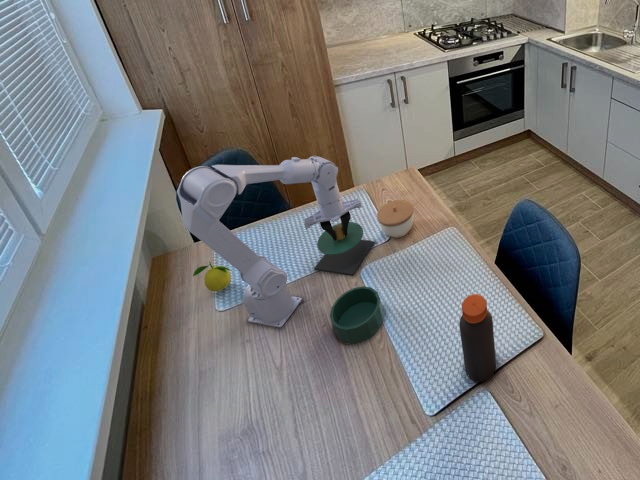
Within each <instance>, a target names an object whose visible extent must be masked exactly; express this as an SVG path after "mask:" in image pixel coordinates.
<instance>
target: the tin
mask: <svg viewBox="0 0 640 480" xmlns="http://www.w3.org/2000/svg"><path fill="white" fill-rule="evenodd" d="M329 318H330V323H331V325H332V327H333V331H334V334H335V336H336V338H337V340H338V341H340V342H341V343H343V344H347V345H355V344H356V345H357V344H360V343H363V342H365V341H367V340H368V339H370V338H371V337H373V336H374V335H375V334H376V333H377V332H378V331H379V329H380V328H381V326H382V324H383V321H384V307H383V304H382V300H381V297H380V295H379V292H378V291H377V290H376V289H375V288H372V287H370V286H363V285H362V286H358V287H357V286H356V287H353V288H351V289H349V290H347V291H345V292H343V293H342V294H341V295H340V296H339V297H338V298H337V299H336V300H335V302H334V303H333V304H332V306H331V309H330V313H329Z"/></svg>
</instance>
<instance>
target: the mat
mask: <svg viewBox="0 0 640 480" xmlns="http://www.w3.org/2000/svg"><path fill="white" fill-rule="evenodd" d="M375 244H376V242H375V241H374V240H373V241H372V240H365V239H361V241H360V242H359V243H358V244H357V245H356V246H355V247H354V248H352V249H351V250H349V251H347V252H345V253H342V254H338V255H325V254H323V256H322V258H320V259H319V261H318V263H317V264H316V265H315V266H314V268H313V270H315V271H319V272H320V271H321V272H327V273H331V274H340V275H347V276H352V277H353V276H354V275H355V274H356V272H357V271H358V269H359V268H360V266H361V265H362V263H363V261H364V260H365V259H366V257H367V256H368V254H369V253H370V251H371V249H372V248H373V246H374V245H375Z"/></svg>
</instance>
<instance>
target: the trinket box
mask: <svg viewBox="0 0 640 480" xmlns="http://www.w3.org/2000/svg"><path fill="white" fill-rule="evenodd" d="M414 212H415V211H414V206H413V203H411V202H409V201H408V200H404V199H395V200H391V201H388V202H386V203H385V204H383V205H382V206H381V207H380V208H379V209H378V211H377V212H376V219H377V221H378V224H379V227H380V229H381V231H382V232H383V234H385V235H386V236H388V237H391V238H394V239H398V238H402V237H404V236H406V235H407V234H408V233H409V231H410V230H411V229H412V227H413V225H414V220H415V213H414Z"/></svg>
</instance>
